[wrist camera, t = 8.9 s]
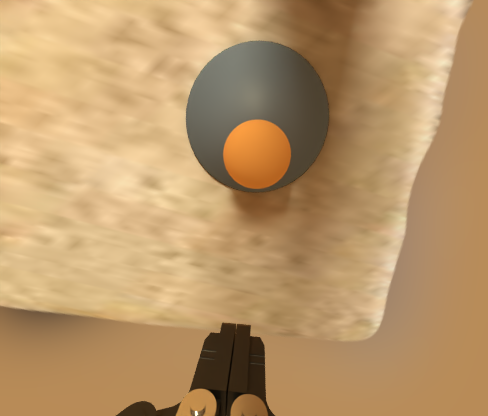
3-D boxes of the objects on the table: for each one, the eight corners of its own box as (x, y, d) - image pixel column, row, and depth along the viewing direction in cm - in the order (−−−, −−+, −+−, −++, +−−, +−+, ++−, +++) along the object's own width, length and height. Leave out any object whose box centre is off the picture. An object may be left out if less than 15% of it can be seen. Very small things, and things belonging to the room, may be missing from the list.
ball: (258, 180, 16) (247, 211, 22) (316, 141, 18) (292, 178, 24) (208, 123, 18) (210, 166, 23) (266, 92, 19) (255, 138, 25)
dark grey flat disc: (263, 5, 21) (263, 3, 20) (357, 127, 22) (358, 126, 22) (158, 116, 23) (157, 116, 23) (249, 218, 25) (249, 218, 25)
